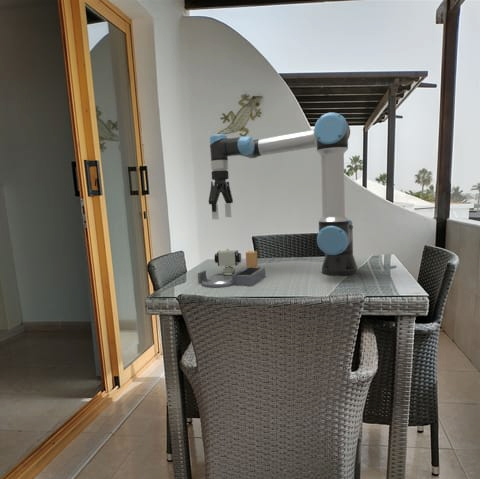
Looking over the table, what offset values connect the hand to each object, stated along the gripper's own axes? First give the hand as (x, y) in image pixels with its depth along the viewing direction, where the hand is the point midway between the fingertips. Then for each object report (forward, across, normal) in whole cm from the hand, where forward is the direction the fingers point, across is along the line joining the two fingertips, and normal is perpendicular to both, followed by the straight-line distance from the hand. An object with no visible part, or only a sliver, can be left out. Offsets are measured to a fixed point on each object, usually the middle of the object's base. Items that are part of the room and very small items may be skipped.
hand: (222, 218), depth 161 cm
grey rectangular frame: (+26, +9, +16) cm, 32 cm away
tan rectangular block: (+26, -5, +12) cm, 29 cm away
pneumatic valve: (+26, -1, +2) cm, 26 cm away
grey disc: (+26, +15, +5) cm, 30 cm away
